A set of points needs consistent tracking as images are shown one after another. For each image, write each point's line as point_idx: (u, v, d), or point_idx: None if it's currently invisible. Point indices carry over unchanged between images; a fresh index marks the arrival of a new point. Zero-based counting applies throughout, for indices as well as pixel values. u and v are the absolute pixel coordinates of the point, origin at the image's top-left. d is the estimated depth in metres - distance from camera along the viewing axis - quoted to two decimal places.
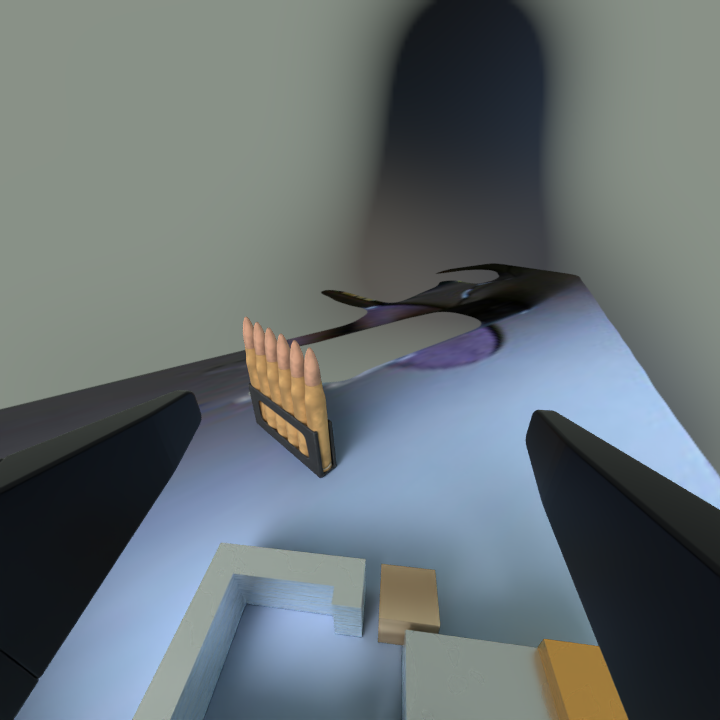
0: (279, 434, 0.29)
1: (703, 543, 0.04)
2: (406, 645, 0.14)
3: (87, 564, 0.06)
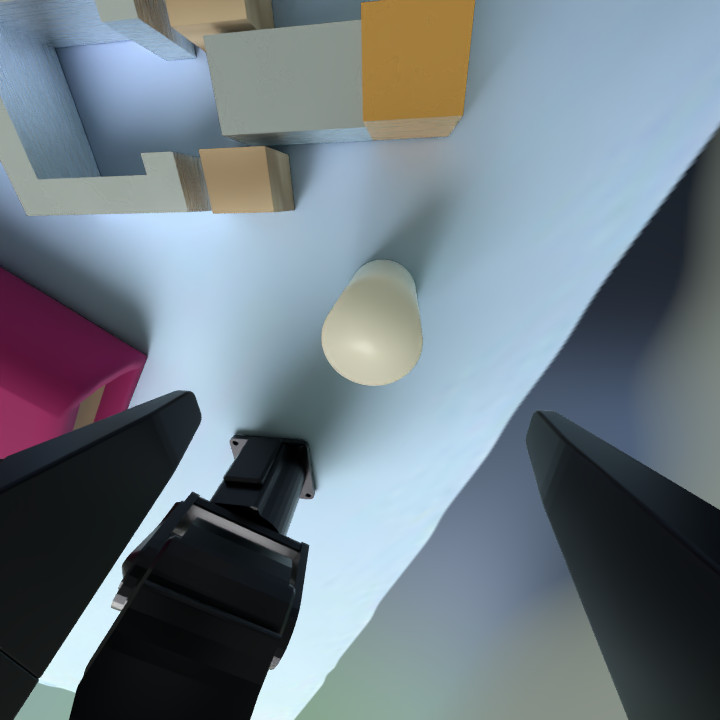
0: None
1: (703, 543, 0.04)
2: (208, 56, 0.12)
3: (87, 564, 0.06)
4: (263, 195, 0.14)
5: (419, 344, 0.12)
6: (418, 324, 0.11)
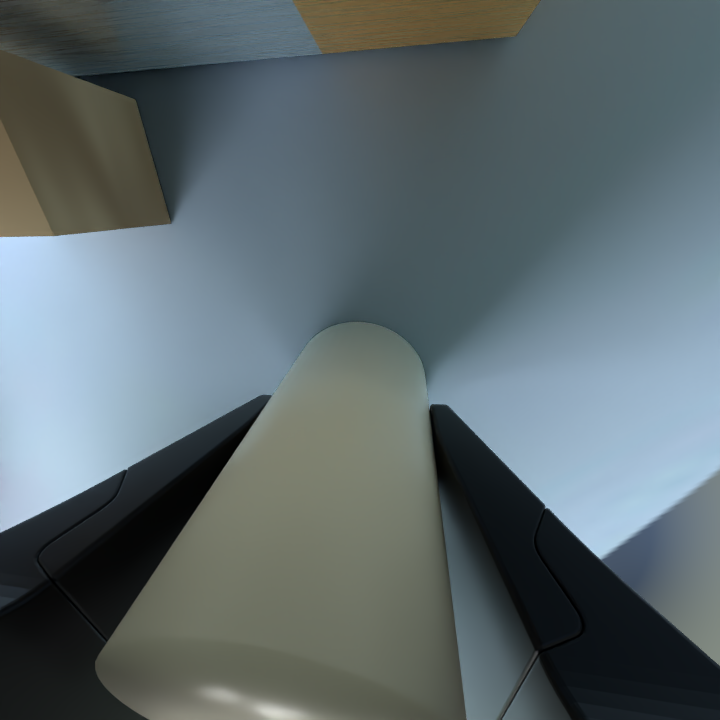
0: None
1: (495, 523, 0.04)
2: None
3: None
4: (12, 191, 0.05)
5: None
6: None
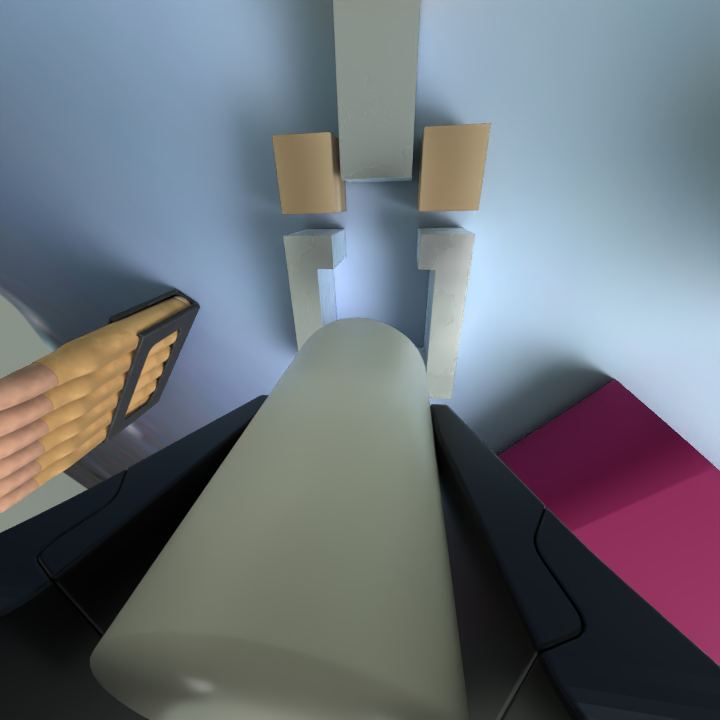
0: (162, 373, 0.22)
1: (495, 522, 0.04)
2: (353, 178, 0.13)
3: None
4: (470, 136, 0.12)
5: None
6: None
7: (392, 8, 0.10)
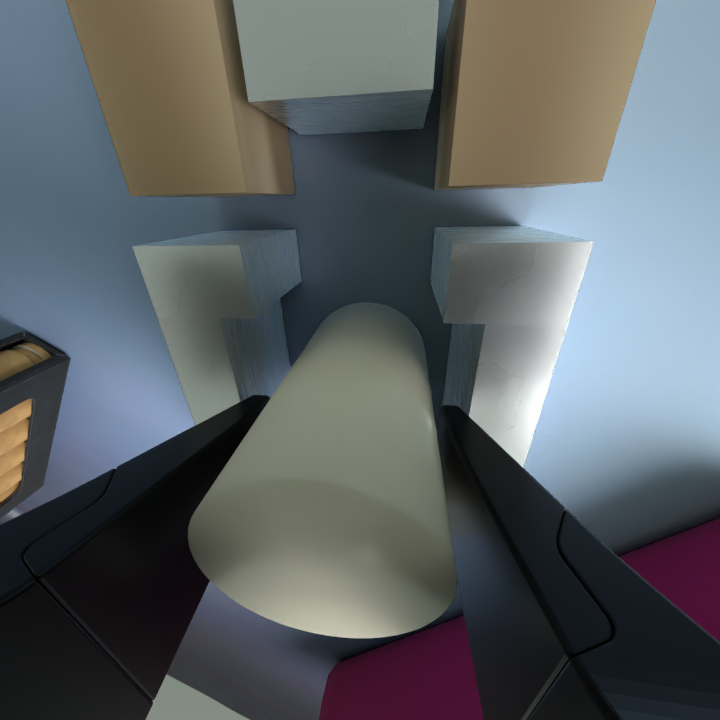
0: (25, 457, 0.14)
1: (515, 524, 0.04)
2: (281, 97, 0.05)
3: (192, 578, 0.06)
4: None
5: (447, 590, 0.04)
6: (446, 553, 0.04)
7: None
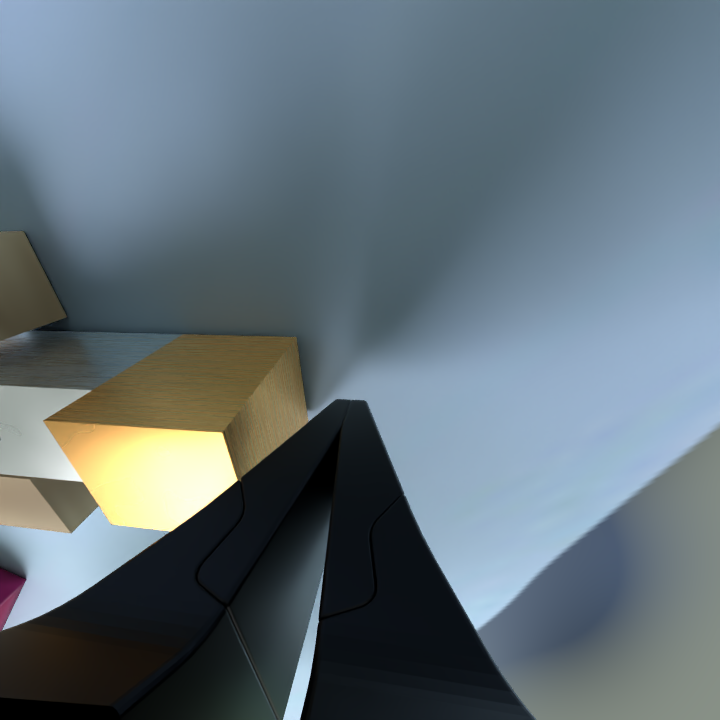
0: None
1: (345, 507, 0.04)
2: None
3: (307, 594, 0.05)
4: (49, 518, 0.10)
5: None
6: None
7: None
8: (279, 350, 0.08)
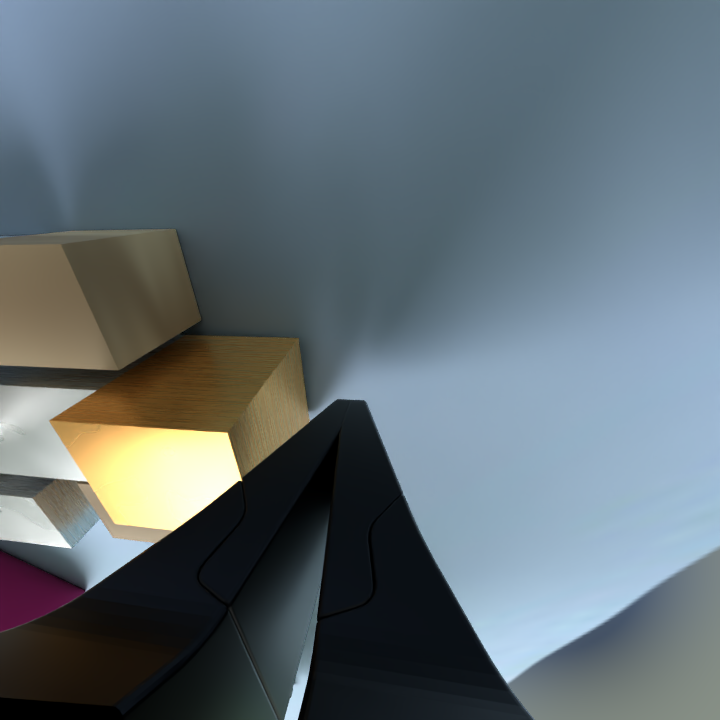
0: None
1: (344, 508, 0.04)
2: None
3: (308, 594, 0.05)
4: None
5: None
6: None
7: None
8: (282, 351, 0.08)
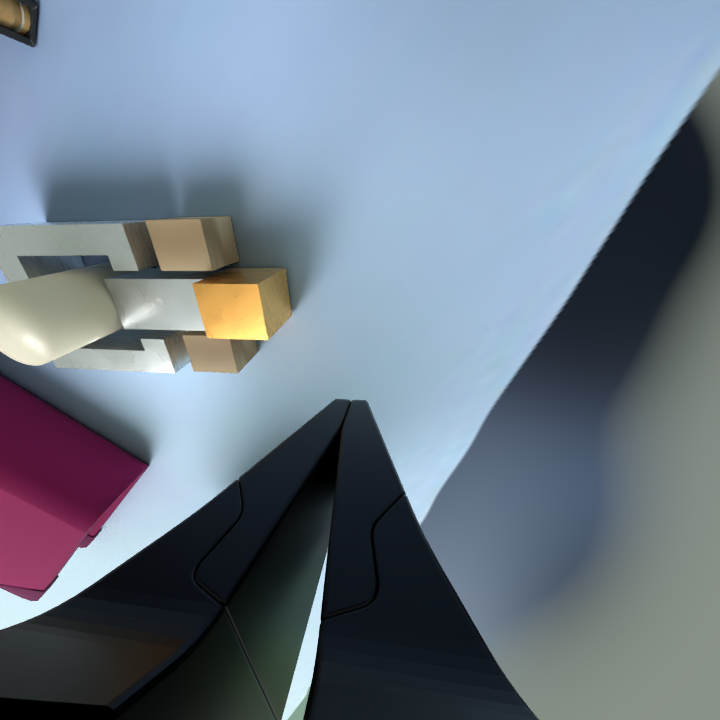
0: None
1: (347, 508, 0.04)
2: (109, 288, 0.17)
3: (306, 594, 0.05)
4: (229, 363, 0.19)
5: (33, 363, 0.16)
6: (46, 362, 0.15)
7: (196, 315, 0.17)
8: (277, 270, 0.18)
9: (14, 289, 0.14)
